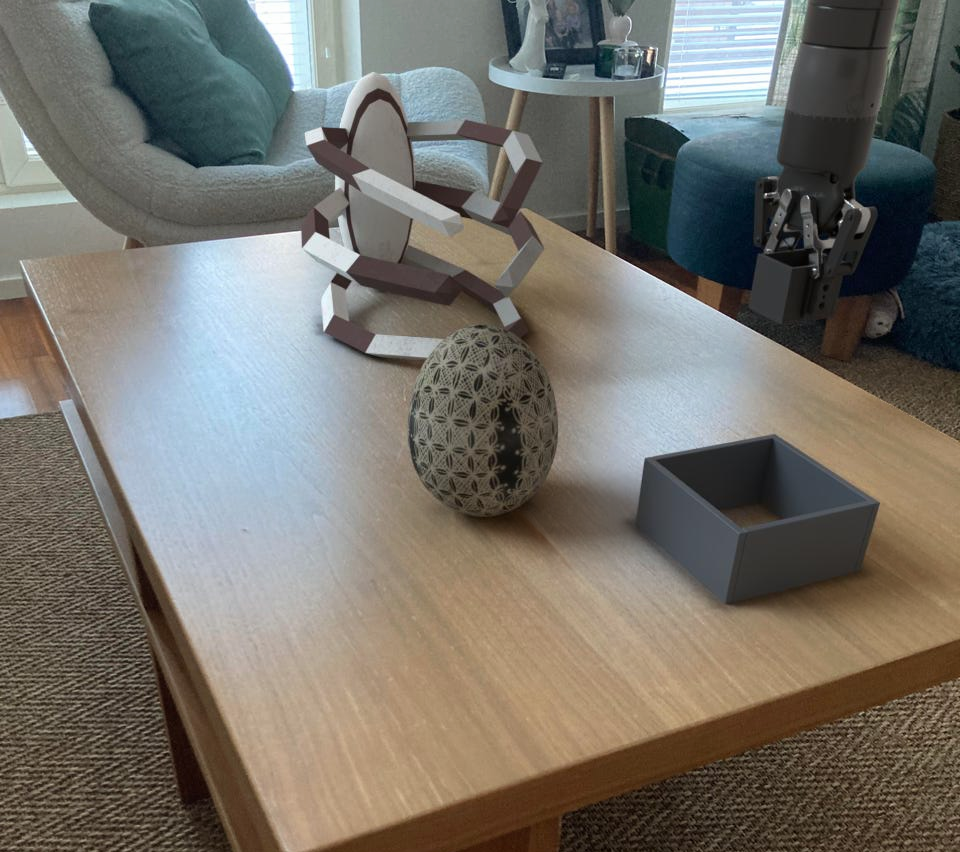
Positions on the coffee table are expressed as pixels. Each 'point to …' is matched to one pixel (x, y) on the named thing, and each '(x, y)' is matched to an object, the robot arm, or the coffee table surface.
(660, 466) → the grey bin
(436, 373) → the decorative egg
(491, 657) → the coffee table surface
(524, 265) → the segmented loop sculpture
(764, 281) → the small bin
